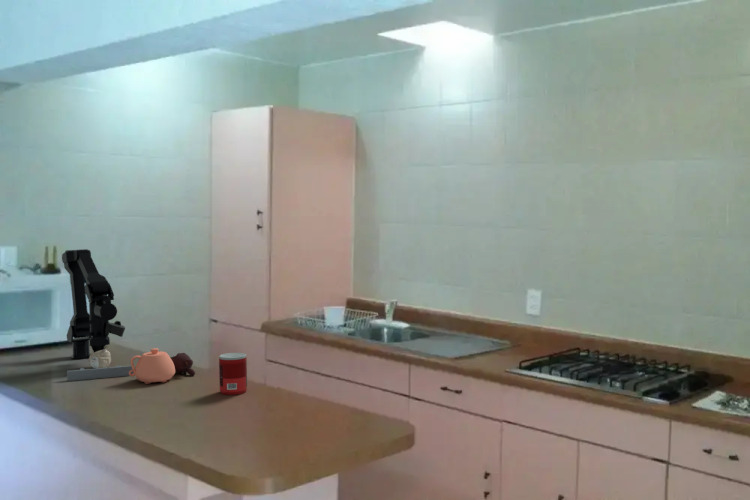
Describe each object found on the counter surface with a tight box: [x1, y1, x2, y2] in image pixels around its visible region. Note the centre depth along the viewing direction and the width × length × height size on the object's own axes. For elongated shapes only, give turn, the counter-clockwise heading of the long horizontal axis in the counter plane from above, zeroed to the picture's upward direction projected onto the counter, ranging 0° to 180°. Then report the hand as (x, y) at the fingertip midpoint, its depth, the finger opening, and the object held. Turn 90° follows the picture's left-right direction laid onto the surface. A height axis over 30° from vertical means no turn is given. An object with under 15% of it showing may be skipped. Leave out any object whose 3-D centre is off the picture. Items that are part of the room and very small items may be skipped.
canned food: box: [218, 352, 248, 396], centre depth 215 cm, size 8×8×11 cm
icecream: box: [169, 352, 196, 377], centre depth 241 cm, size 7×7×15 cm
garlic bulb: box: [88, 345, 112, 369], centre depth 248 cm, size 7×6×8 cm
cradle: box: [66, 364, 133, 382], centre depth 237 cm, size 6×20×3 cm, turn 112°
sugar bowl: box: [129, 347, 176, 385], centre depth 230 cm, size 12×14×10 cm
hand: (99, 361), depth 252 cm, fingers closed
